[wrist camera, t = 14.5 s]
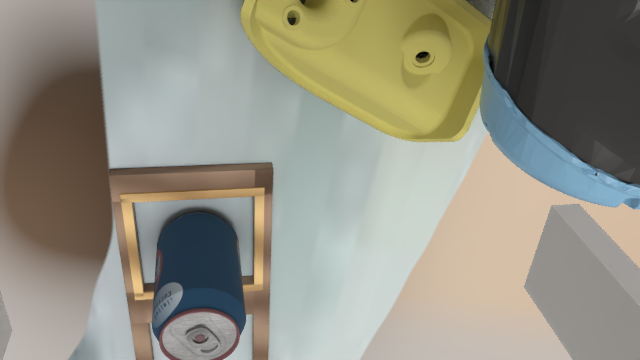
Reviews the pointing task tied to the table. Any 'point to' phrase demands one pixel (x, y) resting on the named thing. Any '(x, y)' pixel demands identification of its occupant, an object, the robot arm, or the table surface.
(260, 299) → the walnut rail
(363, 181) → the table surface
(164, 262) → the soda can
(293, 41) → the plastic component
